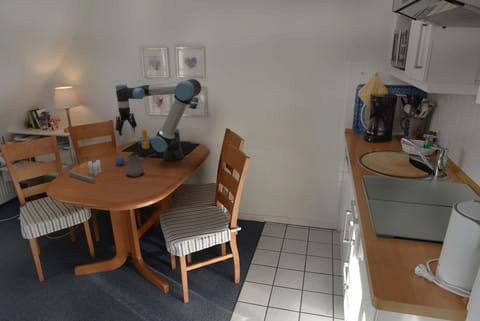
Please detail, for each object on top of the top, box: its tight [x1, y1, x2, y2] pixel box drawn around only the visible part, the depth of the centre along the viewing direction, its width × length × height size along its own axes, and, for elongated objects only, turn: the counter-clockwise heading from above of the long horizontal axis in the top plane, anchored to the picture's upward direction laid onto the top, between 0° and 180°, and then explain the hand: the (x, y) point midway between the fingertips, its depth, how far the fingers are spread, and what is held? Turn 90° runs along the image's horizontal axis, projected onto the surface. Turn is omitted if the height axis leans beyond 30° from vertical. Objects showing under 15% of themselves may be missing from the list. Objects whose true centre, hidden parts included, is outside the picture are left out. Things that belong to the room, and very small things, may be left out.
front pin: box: [95, 159, 102, 174], centre depth 224 cm, size 2×2×8 cm
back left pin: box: [92, 162, 99, 177], centre depth 219 cm, size 2×2×8 cm
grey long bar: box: [68, 171, 96, 184], centre depth 215 cm, size 24×2×2 cm, turn 58°
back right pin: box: [87, 160, 94, 175], centre depth 222 cm, size 2×2×8 cm
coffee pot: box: [125, 153, 157, 177], centre depth 218 cm, size 21×12×15 cm, turn 82°
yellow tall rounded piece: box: [137, 129, 153, 150], centre depth 274 cm, size 12×10×15 cm
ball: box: [114, 156, 125, 166], centre depth 238 cm, size 6×6×6 cm
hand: (127, 138), depth 240 cm, fingers open, 9 cm apart
